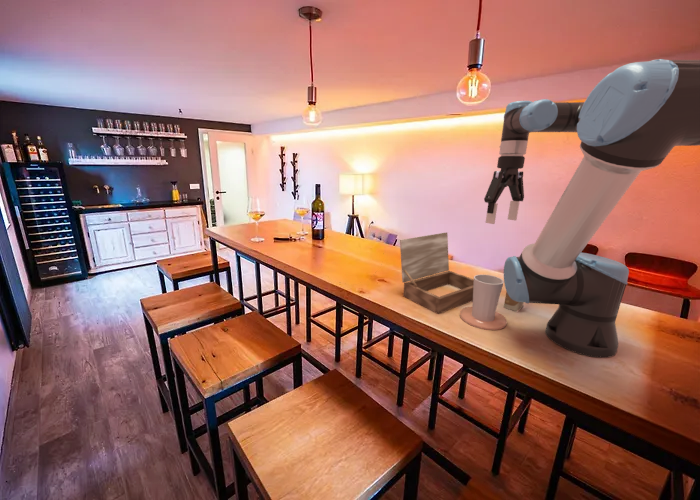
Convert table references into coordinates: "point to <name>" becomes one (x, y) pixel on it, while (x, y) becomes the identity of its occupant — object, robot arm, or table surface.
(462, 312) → the saucer
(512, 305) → the skincare box
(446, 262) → the hinged wooden box
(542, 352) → the table surface
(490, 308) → the cup
